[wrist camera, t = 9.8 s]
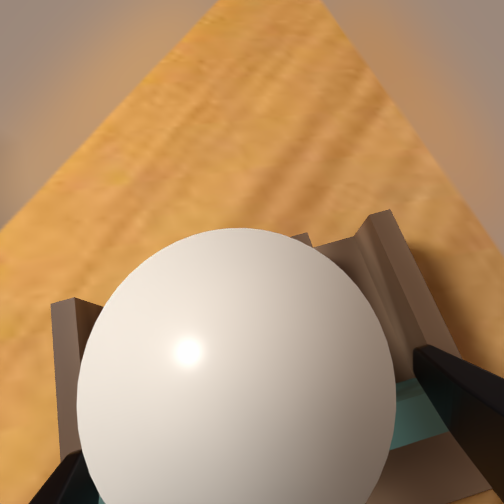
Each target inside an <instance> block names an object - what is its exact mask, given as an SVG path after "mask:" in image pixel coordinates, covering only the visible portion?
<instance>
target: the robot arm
mask: <svg viewBox="0 0 504 504" xmlns="http://www.w3.org/2000/svg"><path fill="white" fill-rule="evenodd" d="M413 372H414V375H415V377H416V379H417V380H418V382H419V384H420V385H421V387H422V388H423V390H424V392H425V393H426V395H427V396H428V398H429V400H430V401H431V403H432V404H433V406H434V408H435V409H436V411H437V413H438V414H439V416H440V417H441V419H442V421H443V422H444V424H445V425H446V427H447V428H448V430H449V431H450V433H451V434H452V436H453V437H454V438H455V440H456V441H457V442H458V444H459V445H460V446H461V448H462V449H463V450H464V452H465V453H466V454H467V456H468V457H469V458H470V460H471V461H472V462H473V464H474V465H475V466H476V467H477V469H478V470H479V471H480V473H481V474H482V475H483V477H484V478H485V479H486V481H487V482H488V483H489V485H490V486H491V487H492V489H493V490H494V491H495V493H496V494H497V495H498V496H499V498H500V499H501V500H502V502H503V503H504V378H501V377H499V376H497V375H495V374H493V373H491V372H489V371H486V370H484V369H482V368H480V367H478V366H476V365H473V364H471V363H469V362H467V361H465V360H463V359H461V358H458V357H456V356H454V355H452V354H450V353H448V352H446V351H443V350H441V349H439V348H437V347H435V346H433V345H430V344H424V345H421V346H418V347H415V348H414V349H413ZM99 495H100V494H99V492H98V490H97V488H96V486H95V484H94V482H93V480H92V478H91V476H90V473H89V470H88V467H87V464H86V461H85V458H84V455H83V452H82V449H80V450H76V451H73V452H71V453H69V454H68V455H67V456H66V457H65V458H64V459H63V460H62V462H61V463H60V464H59V466H58V467H57V468H56V469H55V471H54V472H53V473H52V475H51V476H50V477H49V478H48V480H47V481H46V482H45V483H44V485H43V486H42V487H41V489H40V490H39V491H38V492H37V494H36V495H35V496H34V498H33V499H32V500H31V501H30V503H29V504H99Z"/></svg>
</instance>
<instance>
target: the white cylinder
mask: <svg viewBox="0 0 504 504" xmlns="http://www.w3.org/2000/svg"><path fill="white" fill-rule="evenodd" d="M395 414H396V383H395V376H394V369H393V362H392V358H391V354H390V351H389V347H388V343H387V340H386V337H385V335H384V332H383V330H382V327H381V325H380V322H379V320H378V318H377V316H376V315H375V313H374V311H373V309H372V307H371V305H370V304H369V302H368V301H367V299H366V298H365V296H364V295H363V294H362V292H361V291H360V289H359V288H358V287H357V285H356V284H355V283H354V282H353V281H352V280H351V279H350V278H349V277H348V275H347V274H346V273H345V272H344V271H343V270H342V269H340V268H339V267H338V266H337V265H336V264H335V263H333V262H332V261H331V260H330V259H329V258H327V257H326V256H324V255H323V254H321V253H320V252H318V251H317V250H315V249H314V248H312V247H310V246H308V245H306V244H304V243H302V242H300V241H298V240H296V239H293V238H290V237H287V236H285V235H282V234H278V233H274V232H270V231H265V230H259V229H249V228H227V229H219V230H212V231H207V232H203V233H200V234H196V235H192V236H190V237H187V238H185V239H182V240H179V241H177V242H175V243H173V244H171V245H169V246H167V247H165V248H164V249H162V250H160V251H158V252H157V253H155V254H154V255H153V256H151V257H150V258H148V259H147V260H145V261H144V262H143V263H142V264H141V265H139V266H138V267H137V268H136V269H135V270H134V271H133V272H132V273H130V274H129V276H128V277H127V278H126V279H125V280H124V281H123V282H122V283H121V284H120V285H119V287H118V288H117V289H116V290H115V292H114V293H113V295H112V296H111V297H110V299H109V300H108V302H107V303H106V304H105V306H104V308H103V310H102V311H101V313H100V315H99V317H98V319H97V320H96V322H95V325H94V327H93V329H92V332H91V334H90V336H89V339H88V341H87V345H86V348H85V351H84V355H83V358H82V362H81V367H80V373H79V379H78V387H77V421H78V431H79V437H80V442H81V447H82V452H83V455H84V458H85V461H86V464H87V467H88V470H89V473H90V476H91V478H92V480H93V482H94V484H95V486H96V488H97V490H98V492H99V494H100V496H101V498H102V499H103V501H104V502H105V504H365V503H366V502H367V500H368V498H369V496H370V494H371V493H372V491H373V489H374V487H375V485H376V484H377V482H378V480H379V478H380V475H381V472H382V470H383V467H384V465H385V462H386V460H387V457H388V453H389V449H390V445H391V441H392V437H393V433H394V424H395Z"/></svg>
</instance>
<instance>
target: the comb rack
mask: <svg viewBox="0 0 504 504" xmlns="http://www.w3.org/2000/svg"><path fill="white" fill-rule="evenodd" d="M290 238H293V239H296V240H298V241H300V242H302V243H304V244H306V245H308V246H310V247H312V244H311V241H310V239H309V236H308V233H303V234H300V235H296V236H292V237H290ZM312 248H313V247H312ZM314 249H315V250H317V251H318V252H320V253H321V254H323V255H324V256H326V257H327V258H329V259H330V260H331V261H332V262H333V263H335V264H336V265H337V266H338V267H339V268H340V269H342V270H343V271H344V272H345V273H346V274H347V275H348V277H349V278H350V279H351V280H352V281H353V282H354V283H355V284H356V285H357V287H358V288H359V289H360V291H361V292H362V294H363V295H364V296H365V298H366V299H367V301H368V302H369V304H370V305H371V307H372V309H373V311H374V313H375V315H376V316H377V318H378V320H379V322H380V325H381V327H382V330H383V332H384V335H385V337H386V340H387V343H388V347H389V351H390V354H391V358H392V362H393V369H394V376H395V383H396V414H395V424H394V433H393V437H392V441H391V445H390V449H389V453H388V457H387V460H386V462H385V465H384V467H383V470H382V472H381V475H380V478H379V480H378V482H377V484H376V485H375V487H374V489H373V491H372V493H371V494H370V496H369V498H368V500H367V502H366V503H365V504H447V503H450V502H453V501H456V500H459V499H462V498H465V497H468V496H471V495H474V494H477V493H480V492H483V491H486V490H489V489H492V487H491V486H490V485H489V483H488V482H487V481H486V479H485V478H484V477H483V475H482V474H481V473H480V471H479V470H478V469H477V467H476V466H475V465H474V464H473V462H472V461H471V460H470V458H469V457H468V456H467V454H466V453H465V452H464V450H463V449H462V448H461V446H460V445H459V444H458V442H457V441H456V440H455V438H454V437H453V436H452V434H451V433H450V431H449V430H448V428H447V427H446V425H445V424H444V422H443V421H442V419H441V417H440V416H439V414H438V413H437V411H436V409H435V408H434V406H433V404H432V403H431V401H430V400H429V398H428V396H427V395H426V393H425V392H424V390H423V388H422V387H421V385H420V384H419V382H418V380H417V379H416V377H415V375H414V372H413V349H414V348H415V347H418V346H421V345H424V344H430V345H433V346H435V347H437V348H439V349H441V350H443V351H446V352H448V353H450V354H452V355H454V356H456V357H458V358H461V359H462V357H461V355H460V353H459V351H458V349H457V347H456V345H455V343H454V341H453V338H452V336H451V334H450V332H449V330H448V328H447V326H446V324H445V322H444V320H443V318H442V316H441V314H440V311H439V309H438V307H437V305H436V303H435V301H434V299H433V297H432V295H431V293H430V291H429V289H428V287H427V285H426V282H425V280H424V278H423V276H422V274H421V272H420V270H419V268H418V266H417V264H416V262H415V260H414V258H413V256H412V253H411V251H410V249H409V247H408V245H407V243H406V241H405V239H404V237H403V235H402V233H401V231H400V229H399V226H398V224H397V222H396V220H395V218H394V216H393V214H392V212H391V210H390V209H389V210H386V211H382V212H378V213H375V214H371V215H369V216H368V217H367V219H366V220H365V221H364V223H363V224H362V226H361V227H360V228H359V230H358V231H357V233H356V234H355V235H354V236H353V237H350V238H346V239H342V240H339V241H335V242H332V243H328V244H325V245H321V246H318V247H314ZM103 308H104V307H102V306H99V305H96V304H93V303H90V302H87V301H84V300H81V299H78V298H75V297H74V298H70V299H67V300H63V301H60V302H56V303H52V304H51V318H52V333H53V349H54V364H55V380H56V396H57V411H58V427H59V443H60V458H61V462H62V460H63V459H64V458H65V457H66V456H67V455H68V454H69V453H71V452H73V451H76V450H80V449H82V447H81V442H80V437H79V431H78V421H77V387H78V379H79V373H80V367H81V362H82V358H83V355H84V351H85V348H86V345H87V341H88V339H89V336H90V334H91V332H92V329H93V327H94V325H95V322H96V320H97V319H98V317H99V315H100V313H101V311H102V310H103ZM99 504H105V502H104V501H103V499H102V498H101V496H100V495H99Z"/></svg>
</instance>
